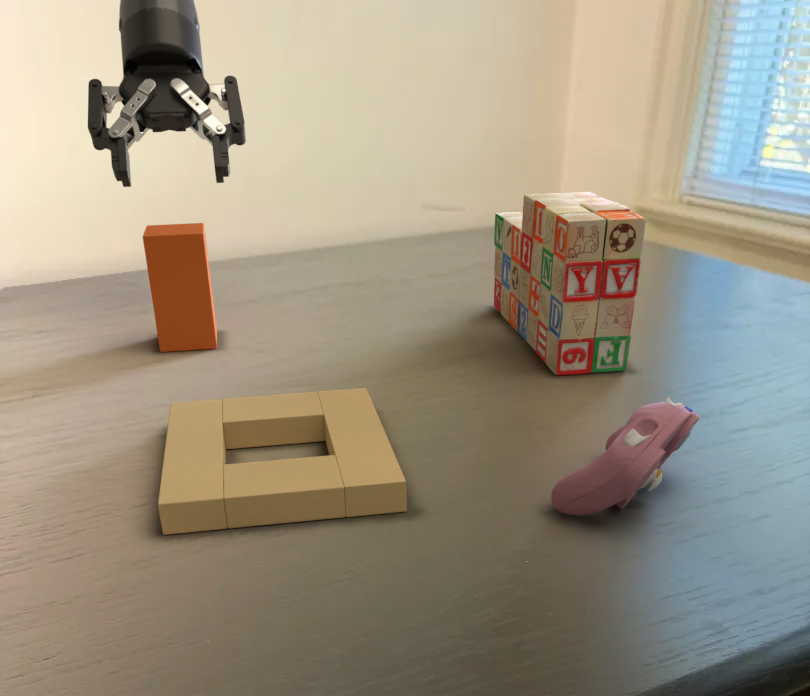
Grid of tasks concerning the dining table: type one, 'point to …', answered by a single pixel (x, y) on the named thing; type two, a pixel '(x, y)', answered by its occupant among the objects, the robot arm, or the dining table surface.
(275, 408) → the base pad
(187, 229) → the upright block
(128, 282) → the dining table surface
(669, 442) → the pink curved elongated piece
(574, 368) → the stack of blocks
